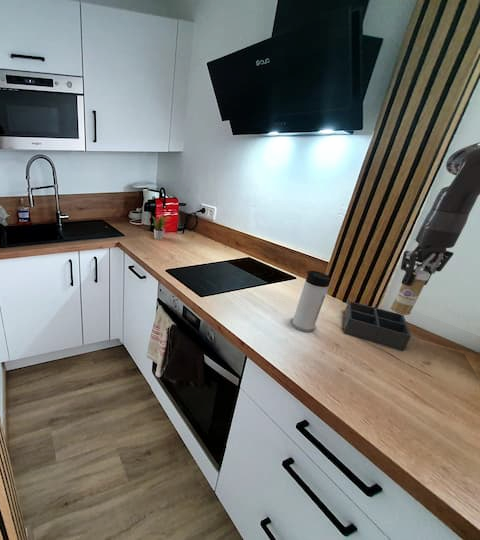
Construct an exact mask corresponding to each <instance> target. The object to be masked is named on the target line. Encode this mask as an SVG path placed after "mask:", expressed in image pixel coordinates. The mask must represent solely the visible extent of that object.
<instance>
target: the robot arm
mask: <svg viewBox="0 0 480 540" xmlns="http://www.w3.org/2000/svg"><path fill="white" fill-rule="evenodd" d="M445 170H446V171H447V172H448V173H449V174H451V175H452V176H455V177H454V178H453V180H452V181H451V182H450V185H449V186H445V187H443V188H441V189H440V190H439V192H438V193H437V194H436V196H435V198H434V201H433V203H432V205H431V208H430V209H429V211H428V213H427V214H426V216H425V218H424V219H423V222H422V224H421V225H420V228H419V230H418V232H417V235H416V237H415V239H414V240H415V242H416V243H418V244H417V245H416V247H415V248H414V250H411V251H409V250H405V251H404V252H403V256H402V260H401V265H400V270H401V271H404V272H405V273H404V274H403V277H402V280H401V285H402V284H404V285H406V286H411V285H412V283H413V281H414V279H415V277H416V274H417V273H418V272H419V271H420V270H423V271H426V272H428V273H430V277H429V279H428V280H427V281H426V282H425V284H424V286H426V285H427V284H428V283H429V281H430V279H431V277H432V275H434V274H435V273H436V272H441V271H442V270H443V269H444V268H445V266H446V265H447V263H448V262H449V261H450V260H451V258H452V257H453V256H454V254H455V253H454V252H452V251H450V250H447V249H451V248H454V247H455V245H456V243H457V241H458V240H459V237H460V236H461V234H462V233H463V230H464V228H465V227H466V224H467V222H468V219H469V216H470V214H471V212H472V211H473V208H474V206H475V205H476V202H477V199H478V198H479V196H480V141H479V142H476V143H473V144H470V145H467V146H464V147H462V148H460V149H458V150H456V151H455V152H453V153H452V154H451V155H450V156H449V157H448V159H446V161H445Z"/></svg>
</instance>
